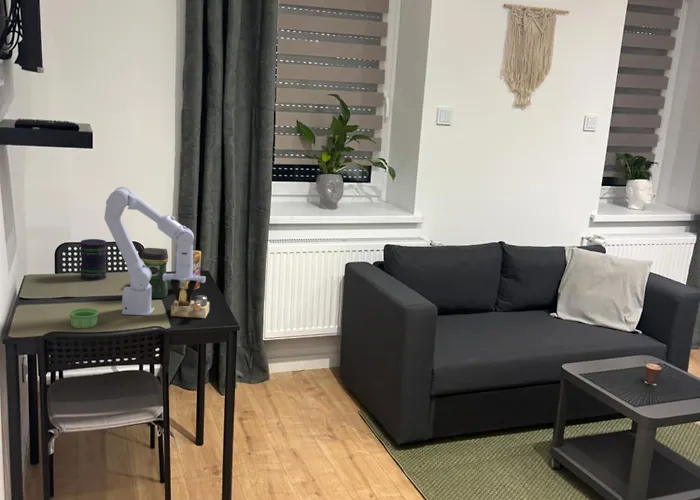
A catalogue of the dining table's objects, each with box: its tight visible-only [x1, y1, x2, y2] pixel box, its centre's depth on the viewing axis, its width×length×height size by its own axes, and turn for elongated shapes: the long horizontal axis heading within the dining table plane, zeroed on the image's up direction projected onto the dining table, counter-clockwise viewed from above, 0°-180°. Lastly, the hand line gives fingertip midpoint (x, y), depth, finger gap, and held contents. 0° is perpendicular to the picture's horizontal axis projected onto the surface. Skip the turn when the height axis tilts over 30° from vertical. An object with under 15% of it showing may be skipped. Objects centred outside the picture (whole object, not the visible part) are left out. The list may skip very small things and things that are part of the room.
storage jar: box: [79, 238, 107, 282], centre depth 275 cm, size 10×10×15 cm
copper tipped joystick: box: [193, 294, 208, 312], centre depth 238 cm, size 4×11×3 cm, turn 2°
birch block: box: [170, 299, 210, 319], centre depth 242 cm, size 12×8×4 cm, turn 92°
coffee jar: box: [140, 247, 169, 299], centre depth 257 cm, size 10×8×19 cm
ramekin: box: [69, 307, 100, 329], centre depth 223 cm, size 9×9×4 cm
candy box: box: [180, 249, 202, 291], centre depth 269 cm, size 9×4×15 cm, turn 157°
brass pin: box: [178, 287, 188, 306], centre depth 241 cm, size 3×3×7 cm
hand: (183, 300), depth 241 cm, fingers closed on brass pin, 3 cm apart
